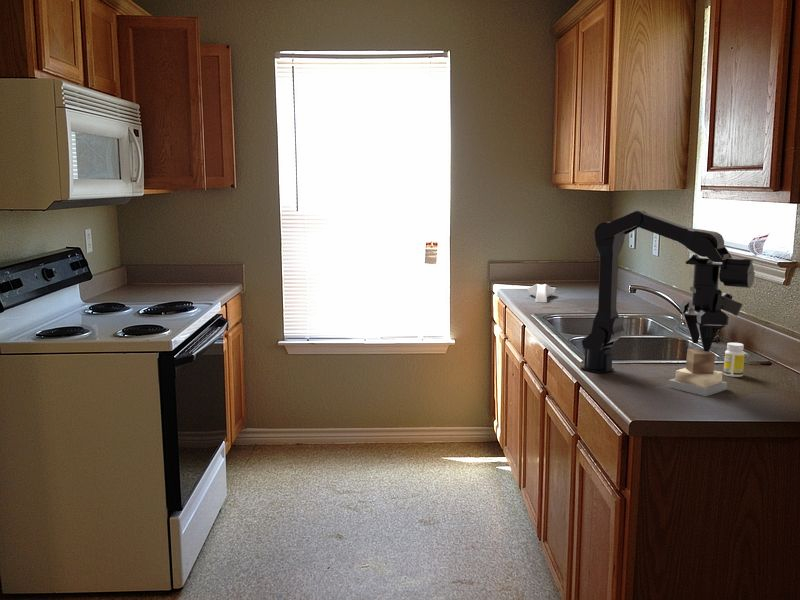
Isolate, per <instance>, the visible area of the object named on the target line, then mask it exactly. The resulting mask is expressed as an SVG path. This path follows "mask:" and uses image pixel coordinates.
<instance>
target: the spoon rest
mask: <svg viewBox="0 0 800 600" xmlns="http://www.w3.org/2000/svg"><path fill="white" fill-rule="evenodd" d="M527 291H528V292H529V294H530V295H532V296H533V297H535V303H544V304H546V303H547V302H548V298H549V297H550V296H552V295H553V294H554V293H555V291H556V288H554V287H552V286H550V285H548V284H547V283H544V284H539V283H536V284H534V285H532V286H530V287H527Z"/></svg>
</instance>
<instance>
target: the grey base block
mask: <svg viewBox="0 0 800 600" xmlns="http://www.w3.org/2000/svg"><path fill="white" fill-rule="evenodd" d="M667 382H668V383H667V388H669V389H674V390H678V391H682V392H685V393H686V392H687V393H691V394H694V395H699V396H702V397H703V396H704V397H708V396H711V395H714V394H717V393H720V392H724V391H726V390H727V389H728V382H726V381H723V380H722V382H720V383H717V384H714V385H712V386H709V387H702V386H697V385H693V384H689V383H684V382H680V381H676V380H675V377H674V378H670V379H668V381H667Z"/></svg>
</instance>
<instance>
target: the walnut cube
mask: <svg viewBox="0 0 800 600" xmlns="http://www.w3.org/2000/svg"><path fill="white" fill-rule="evenodd" d="M715 360H716V353H714V352H713V351H711V350H709V351H704V349H703V348H687V351H686V360H685V361H686V362H685V368H686V369H687V370H689V371H690V372H691V373H693V374H713V372H714V370H715Z"/></svg>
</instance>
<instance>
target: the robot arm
mask: <svg viewBox="0 0 800 600" xmlns="http://www.w3.org/2000/svg"><path fill="white" fill-rule="evenodd" d="M637 229H642V230H646V231H648V232H650V233H652V234H656V235H659V236H661V237H664V238H667V239H670V240H672V241H675V242H678V243H679V244H681V245H683V247H685V248H686V249H688V250H689V251H691V252H692V253H694V254H692V256H691V257H690V258H688V259H687V260H686V261H685V264H686V265H692V266H693V267H694V268H693V278H692V279H693V280H692V286H689V287H690V288H689V291H690V292H692V293H691V300H683V301H682V302H681V303H680V312H681V315H682V317H683V321H684V323H685V326H686V328H687V330H688V333H689V335H690V336H689V337H690V338H691V341H692V343H693V344H698V343H699V339H700V342H701V346H702V349H704V351H709V350H710V349H711V347H712V344H713V342H714V339H715V337H716V335H717V333H718V331H720V330H721V329H724V328H726V326H728V325H729V319H730V318H729V316H728V315H727V314H726V313H725V312H724V311H726V312H728V313H731V314H732V315H733V316H736V317H737V316H738V315H739V314H740V311H741V309H742V307H743V305H744V304H743V303H741V302H739V301H737V300H734V299H733V294H730V293H727V292H723V293H722V290H721V289H720V288H719V281H720V283H722V284H723V286H724V287H734V288H742V289H743V288H745V289H751V288H752V286H753V285H754V281H755V276H756V275H755V273H756V272H755V270H754V269H755V267H754V264H753V261H754V259H753V258H733V257H732V255H731V253H730V252H729V250H728V249H727V247H726V246H725V240H724V237H723V235H722V234H720V233H719V232H717V231H713V230H706V229H699V228H691V227H687V226H684V225H682V224H679V223H676V222H673V221H670V220H668V219H665V218H662V217H660V216H657V215H654V214H651V213H648V212H647V211H645V210H642V209H640V210H633V211H631V212H630V213H628V214H626V215H623V216H622V217H619V218H617V219H614V220H612V221H605V222H601V223H598V225H597V226H596V227H595V229H594V231H593V234H594V235H593V236H594V242H595V248H596V249H597V250H596V251H597V253H598V257H599V271H598V272H599V275H598V298H597V299H598V306H597V307H598V309H597V311H596V313H595V316H594V318H593V321H592V326H591V329H590V330H591V331H590V334H588V335H587V336H586V337H585V338H583V339H582V340H581V345H582V349H584V362H583V363H584V364H583V366H580V370H584V371H588V372H591V373H592V372H593V373H597V374H604V373H607V372H612V371H614V370H615V368H614V367H613V354H612V348H611V347H614V344H615V342H616V341H618V340H619V339H620V338H621V337H622V333H623V332H625V329H624V322H625V321H624V320H625V317H624V315H622V316H619V313H618V310H617V301H618V300H617V297H618V269H619V268H618V266H619V256H620V252H621V251H622V248H623V245H624V241H625V237H626V235H628V234H630V233H632V232H634V231H636V230H637ZM710 351H711V350H710Z"/></svg>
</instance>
